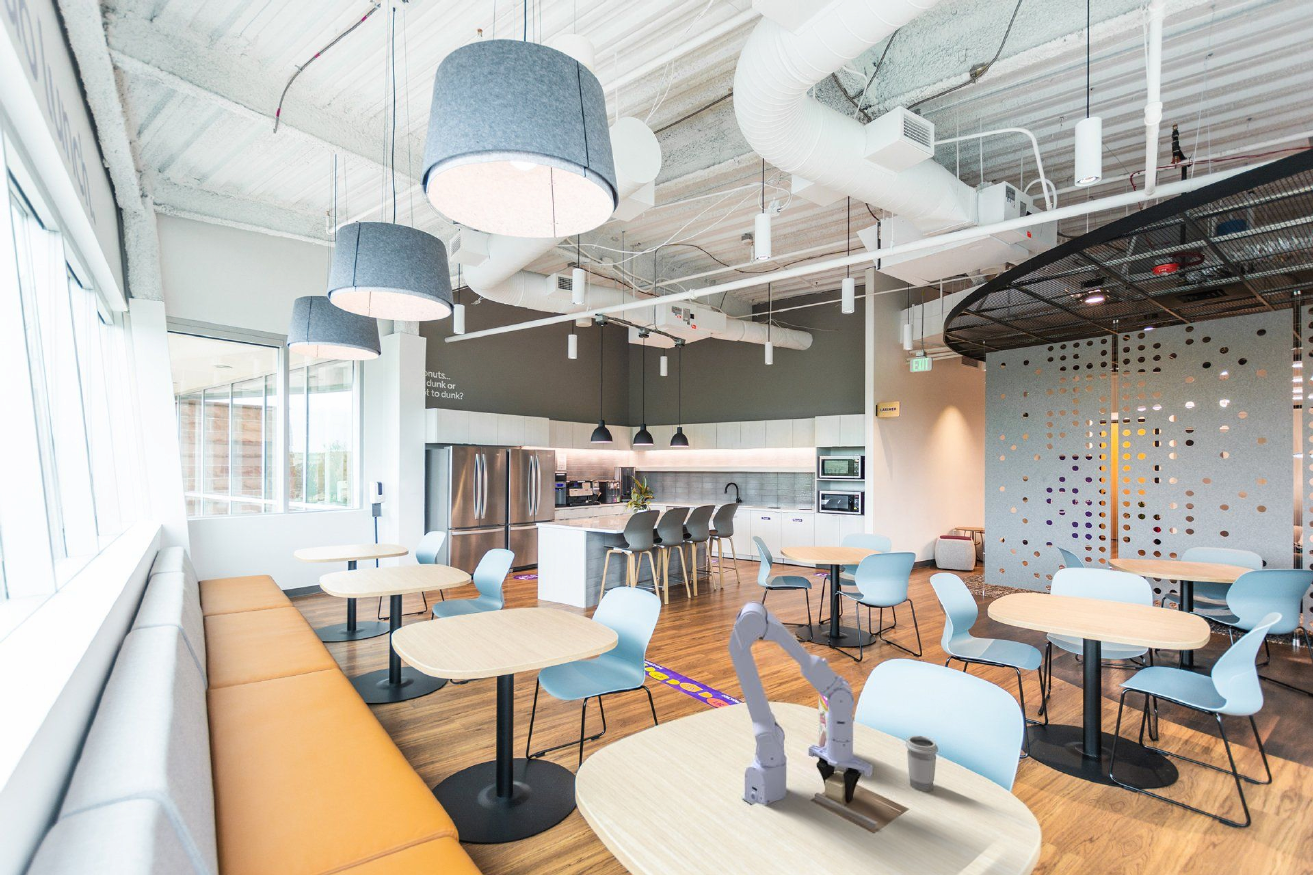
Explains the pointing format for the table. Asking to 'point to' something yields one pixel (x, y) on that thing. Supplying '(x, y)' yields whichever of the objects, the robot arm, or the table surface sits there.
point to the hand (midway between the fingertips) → (839, 796)
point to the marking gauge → (836, 788)
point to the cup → (921, 762)
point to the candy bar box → (824, 725)
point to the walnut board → (864, 809)
